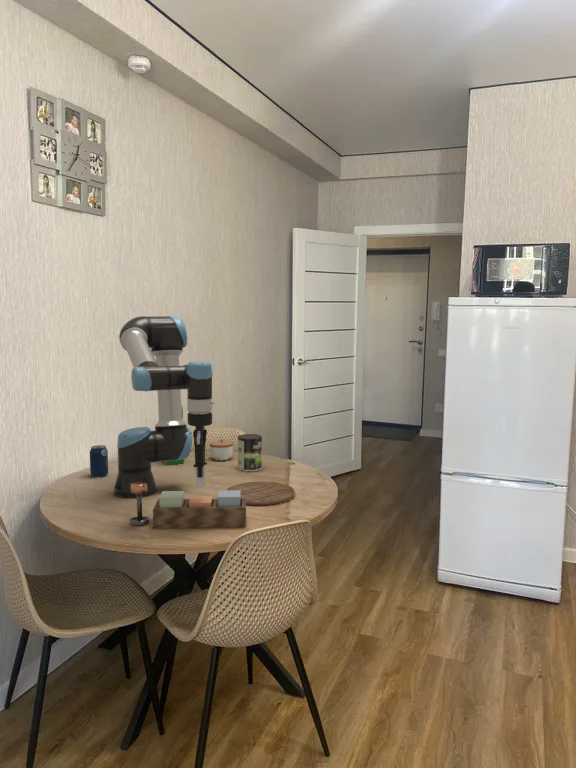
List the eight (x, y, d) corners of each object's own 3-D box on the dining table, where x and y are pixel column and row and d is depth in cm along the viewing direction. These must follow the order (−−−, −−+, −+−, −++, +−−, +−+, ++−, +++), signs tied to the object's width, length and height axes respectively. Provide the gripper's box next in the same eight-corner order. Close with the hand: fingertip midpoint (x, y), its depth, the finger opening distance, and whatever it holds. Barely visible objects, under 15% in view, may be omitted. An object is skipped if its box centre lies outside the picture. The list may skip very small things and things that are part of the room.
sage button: (159, 510, 176) (159, 497, 175) (163, 503, 182) (162, 491, 182) (181, 510, 176) (181, 497, 176) (184, 503, 183) (184, 491, 182)
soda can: (111, 475, 233) (110, 446, 232) (95, 479, 228) (94, 449, 227) (102, 472, 238) (102, 444, 237) (87, 475, 233) (86, 446, 232)
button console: (153, 528, 174) (152, 509, 174) (158, 517, 184) (158, 499, 184) (245, 526, 176) (245, 507, 175) (246, 515, 186) (245, 497, 185)
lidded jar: (232, 462, 256) (232, 441, 255) (208, 462, 256) (208, 441, 255) (234, 456, 267) (234, 436, 266) (211, 456, 267) (211, 436, 266)
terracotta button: (188, 515, 176) (188, 503, 176) (191, 508, 183) (191, 496, 183) (211, 515, 177) (211, 502, 176) (212, 508, 183) (212, 496, 183)
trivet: (309, 496, 208) (309, 491, 208) (256, 512, 191) (256, 506, 191) (264, 482, 226) (264, 477, 226) (211, 495, 209) (211, 490, 209)
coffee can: (266, 467, 248) (266, 435, 246) (253, 472, 239) (253, 439, 237) (246, 464, 253) (246, 433, 251) (233, 469, 244) (233, 437, 242)
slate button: (218, 509, 177) (217, 497, 176) (219, 502, 183) (219, 490, 183) (240, 509, 177) (240, 496, 177) (240, 502, 184) (240, 490, 183)
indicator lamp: (128, 526, 176) (127, 487, 175) (132, 519, 182) (131, 481, 181) (147, 526, 176) (147, 486, 175) (151, 519, 182) (150, 481, 181)
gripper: (210, 415, 170) (211, 492, 173) (213, 408, 183) (213, 480, 186) (185, 415, 170) (185, 492, 173) (189, 408, 183) (190, 480, 186)
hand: (200, 486), depth 179 cm, fingers closed
